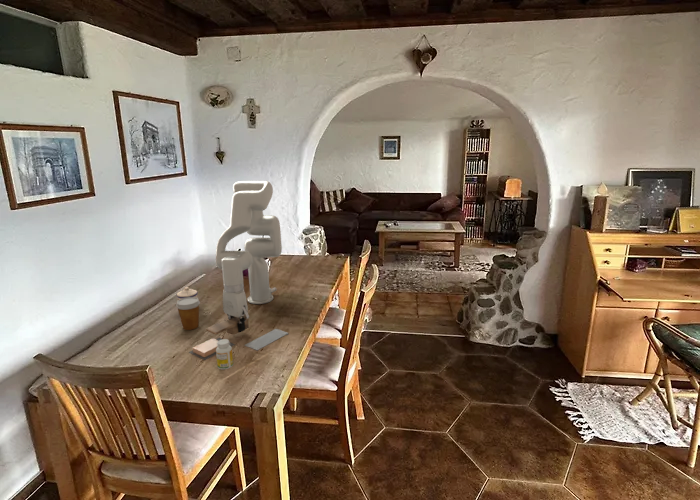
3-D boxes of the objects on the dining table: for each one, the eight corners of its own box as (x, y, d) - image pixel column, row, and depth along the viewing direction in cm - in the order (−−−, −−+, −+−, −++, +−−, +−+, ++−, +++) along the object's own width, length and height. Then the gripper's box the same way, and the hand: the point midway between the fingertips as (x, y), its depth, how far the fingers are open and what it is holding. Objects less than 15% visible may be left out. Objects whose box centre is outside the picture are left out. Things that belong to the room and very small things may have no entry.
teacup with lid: (192, 315, 187) (189, 291, 184) (174, 314, 189) (171, 290, 186) (206, 305, 199) (204, 282, 196) (189, 304, 200) (186, 281, 197)
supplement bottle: (223, 372, 142) (220, 347, 139) (214, 366, 145) (211, 342, 143) (236, 365, 146) (234, 341, 143) (227, 360, 149) (225, 336, 147)
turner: (240, 324, 171) (239, 313, 170) (250, 328, 168) (249, 316, 167) (207, 340, 159) (205, 328, 157) (217, 344, 155) (215, 332, 154)
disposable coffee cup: (207, 323, 179) (204, 298, 176) (192, 333, 170) (189, 306, 167) (189, 320, 182) (186, 295, 179) (174, 330, 174) (170, 303, 170)
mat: (219, 338, 166) (219, 337, 166) (235, 345, 160) (235, 344, 160) (188, 353, 155) (188, 352, 155) (205, 361, 149) (204, 360, 149)
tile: (212, 338, 161) (192, 347, 154) (224, 343, 157) (203, 353, 150) (213, 342, 162) (192, 352, 155) (224, 347, 158) (204, 357, 151)
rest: (276, 329, 173) (276, 328, 173) (288, 334, 169) (288, 332, 169) (244, 346, 159) (244, 344, 159) (257, 351, 155) (257, 350, 155)
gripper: (212, 285, 163) (217, 327, 168) (240, 294, 154) (244, 338, 159) (227, 280, 169) (231, 321, 174) (255, 288, 160) (259, 331, 165)
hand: (237, 329), depth 167 cm, fingers closed on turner, 4 cm apart
